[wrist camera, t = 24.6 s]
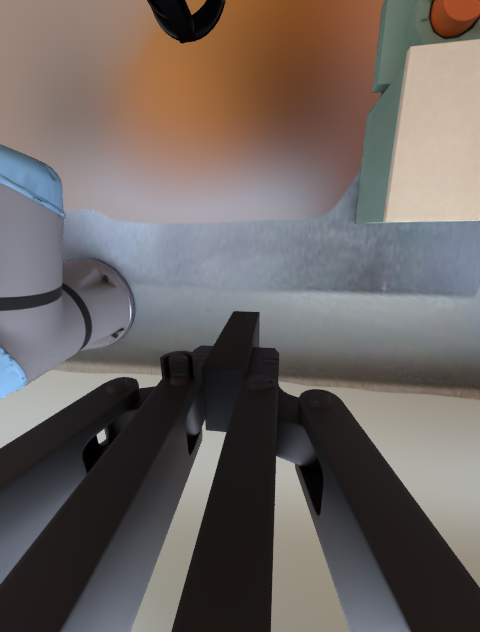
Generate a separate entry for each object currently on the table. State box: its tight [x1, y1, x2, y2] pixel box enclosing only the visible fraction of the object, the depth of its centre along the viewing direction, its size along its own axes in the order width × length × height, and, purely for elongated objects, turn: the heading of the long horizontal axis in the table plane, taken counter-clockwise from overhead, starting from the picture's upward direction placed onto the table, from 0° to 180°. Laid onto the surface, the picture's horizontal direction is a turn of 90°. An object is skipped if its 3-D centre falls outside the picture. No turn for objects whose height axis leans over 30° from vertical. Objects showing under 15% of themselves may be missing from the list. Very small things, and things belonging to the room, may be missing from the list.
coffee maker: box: [355, 66, 469, 224], centre depth 29 cm, size 13×13×11 cm
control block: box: [372, 0, 480, 93], centre depth 28 cm, size 12×9×4 cm
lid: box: [383, 39, 480, 222], centre depth 23 cm, size 14×13×1 cm
